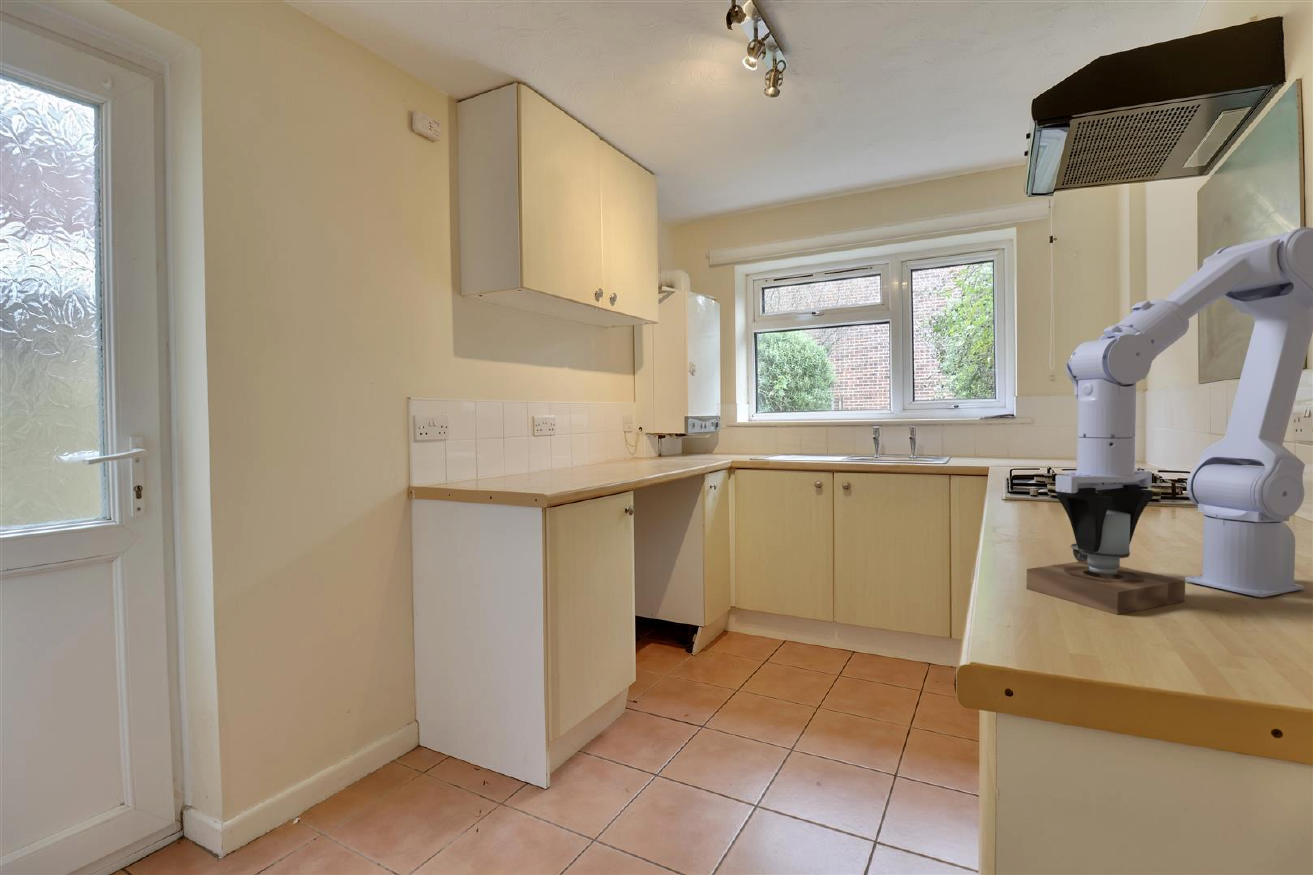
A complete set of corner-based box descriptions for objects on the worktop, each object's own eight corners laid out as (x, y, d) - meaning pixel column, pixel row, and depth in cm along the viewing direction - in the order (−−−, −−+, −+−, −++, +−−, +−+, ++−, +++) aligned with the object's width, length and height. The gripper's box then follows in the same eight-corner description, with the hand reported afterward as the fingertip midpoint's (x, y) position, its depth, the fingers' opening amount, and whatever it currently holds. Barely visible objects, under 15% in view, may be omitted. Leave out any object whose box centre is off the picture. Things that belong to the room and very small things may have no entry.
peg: (1096, 564, 79) (1097, 508, 79) (1139, 574, 74) (1141, 514, 74) (1068, 568, 77) (1069, 511, 77) (1110, 579, 72) (1112, 517, 72)
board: (1090, 578, 83) (1090, 559, 83) (1184, 601, 73) (1185, 580, 73) (1026, 588, 79) (1026, 568, 79) (1117, 614, 69) (1117, 592, 68)
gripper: (1110, 435, 81) (1108, 536, 82) (1032, 437, 76) (1030, 546, 77) (1171, 436, 75) (1169, 547, 75) (1090, 439, 70) (1088, 558, 70)
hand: (1103, 548), depth 76 cm, fingers closed on peg, 5 cm apart
